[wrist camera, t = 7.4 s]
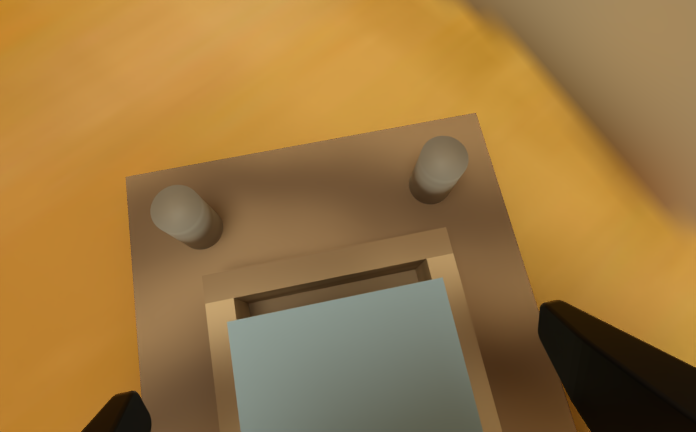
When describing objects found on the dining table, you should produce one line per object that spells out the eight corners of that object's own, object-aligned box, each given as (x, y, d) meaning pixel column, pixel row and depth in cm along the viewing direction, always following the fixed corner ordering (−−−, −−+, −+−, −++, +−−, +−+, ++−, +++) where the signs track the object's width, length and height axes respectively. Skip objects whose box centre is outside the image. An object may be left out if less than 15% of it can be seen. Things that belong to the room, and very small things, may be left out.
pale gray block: (412, 416, 17) (506, 521, 7) (309, 439, 16) (260, 582, 7) (388, 311, 18) (442, 277, 8) (291, 331, 17) (226, 321, 8)
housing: (618, 608, 16) (710, 698, 12) (181, 723, 15) (121, 865, 11) (468, 125, 21) (497, 74, 17) (138, 186, 20) (86, 148, 16)
